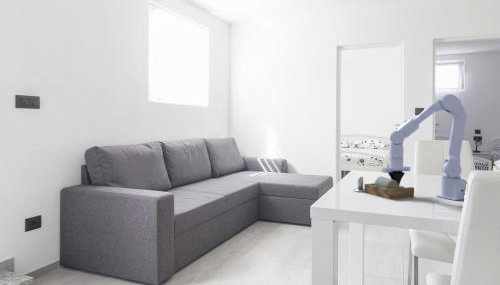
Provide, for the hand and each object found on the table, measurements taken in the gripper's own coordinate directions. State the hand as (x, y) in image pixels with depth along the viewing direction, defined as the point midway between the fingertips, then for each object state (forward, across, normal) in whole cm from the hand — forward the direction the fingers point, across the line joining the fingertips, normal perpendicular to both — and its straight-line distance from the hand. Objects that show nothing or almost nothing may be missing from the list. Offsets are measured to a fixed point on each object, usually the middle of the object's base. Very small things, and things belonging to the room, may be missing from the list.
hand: (395, 187), depth 165 cm
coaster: (+3, -11, -12) cm, 17 cm away
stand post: (+3, +10, -12) cm, 16 cm away
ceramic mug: (+3, +4, -1) cm, 5 cm away
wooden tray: (+3, +4, 0) cm, 5 cm away
